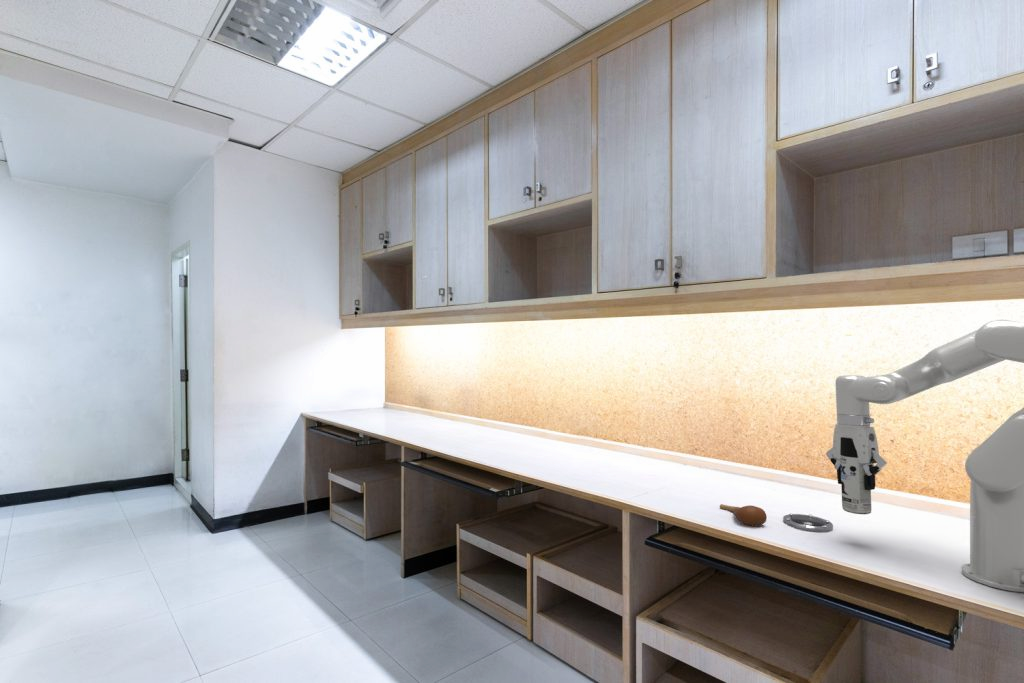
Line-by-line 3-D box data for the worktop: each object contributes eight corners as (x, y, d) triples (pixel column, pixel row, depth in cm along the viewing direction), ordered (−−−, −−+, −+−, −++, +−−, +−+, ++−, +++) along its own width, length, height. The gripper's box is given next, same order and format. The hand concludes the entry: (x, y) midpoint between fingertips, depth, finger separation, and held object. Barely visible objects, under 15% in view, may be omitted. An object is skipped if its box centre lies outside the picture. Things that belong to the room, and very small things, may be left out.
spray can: (839, 506, 142) (836, 434, 143) (868, 508, 140) (865, 435, 140) (845, 513, 136) (842, 438, 137) (875, 515, 133) (872, 439, 134)
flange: (843, 529, 150) (843, 524, 150) (812, 534, 145) (812, 529, 145) (803, 515, 162) (803, 510, 162) (773, 520, 157) (773, 515, 157)
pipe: (726, 508, 169) (726, 490, 169) (769, 528, 151) (769, 508, 151) (707, 509, 167) (707, 491, 167) (747, 530, 149) (747, 509, 149)
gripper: (896, 423, 132) (899, 492, 131) (832, 416, 148) (834, 478, 147) (877, 425, 129) (880, 495, 129) (814, 418, 145) (816, 481, 145)
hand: (855, 485), depth 138 cm, fingers closed on spray can, 6 cm apart
